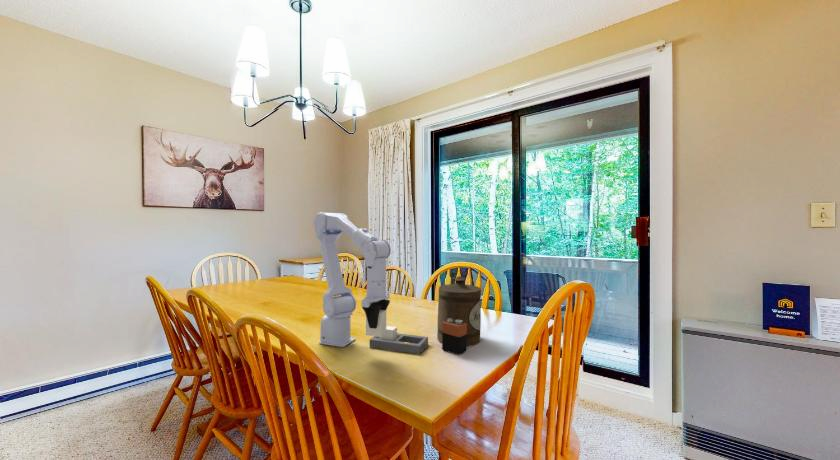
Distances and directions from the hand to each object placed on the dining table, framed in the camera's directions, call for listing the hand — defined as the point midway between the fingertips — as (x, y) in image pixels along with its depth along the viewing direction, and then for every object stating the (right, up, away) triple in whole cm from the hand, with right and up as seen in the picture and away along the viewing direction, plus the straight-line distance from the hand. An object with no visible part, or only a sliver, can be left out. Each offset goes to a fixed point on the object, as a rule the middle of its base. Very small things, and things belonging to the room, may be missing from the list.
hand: (376, 326), depth 101 cm
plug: (0, -3, 0) cm, 2 cm away
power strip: (+6, -9, +10) cm, 15 cm away
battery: (+24, -10, +6) cm, 26 cm away
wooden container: (+27, -10, +16) cm, 33 cm away
